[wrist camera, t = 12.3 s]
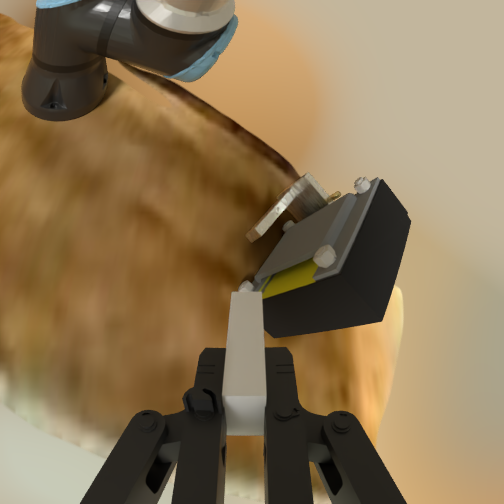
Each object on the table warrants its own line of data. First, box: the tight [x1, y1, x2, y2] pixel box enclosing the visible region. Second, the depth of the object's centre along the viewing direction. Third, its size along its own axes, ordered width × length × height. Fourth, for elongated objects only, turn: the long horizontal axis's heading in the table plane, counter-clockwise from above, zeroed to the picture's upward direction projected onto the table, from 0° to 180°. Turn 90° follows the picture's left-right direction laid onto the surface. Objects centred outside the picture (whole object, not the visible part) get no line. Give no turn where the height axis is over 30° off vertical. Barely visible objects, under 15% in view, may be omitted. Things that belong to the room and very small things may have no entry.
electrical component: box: [238, 177, 411, 338], centre depth 42 cm, size 18×10×20 cm, turn 144°
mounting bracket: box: [245, 172, 341, 242], centre depth 50 cm, size 17×12×10 cm
